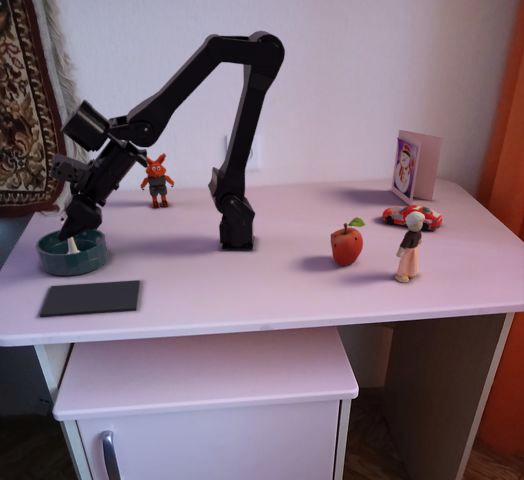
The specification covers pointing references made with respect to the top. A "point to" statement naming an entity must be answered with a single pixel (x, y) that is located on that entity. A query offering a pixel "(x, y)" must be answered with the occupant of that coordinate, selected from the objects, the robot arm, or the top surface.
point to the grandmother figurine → (410, 247)
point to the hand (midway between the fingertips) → (61, 230)
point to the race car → (400, 213)
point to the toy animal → (157, 181)
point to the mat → (91, 298)
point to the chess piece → (70, 241)
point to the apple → (347, 243)
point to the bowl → (76, 263)
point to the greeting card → (416, 165)
